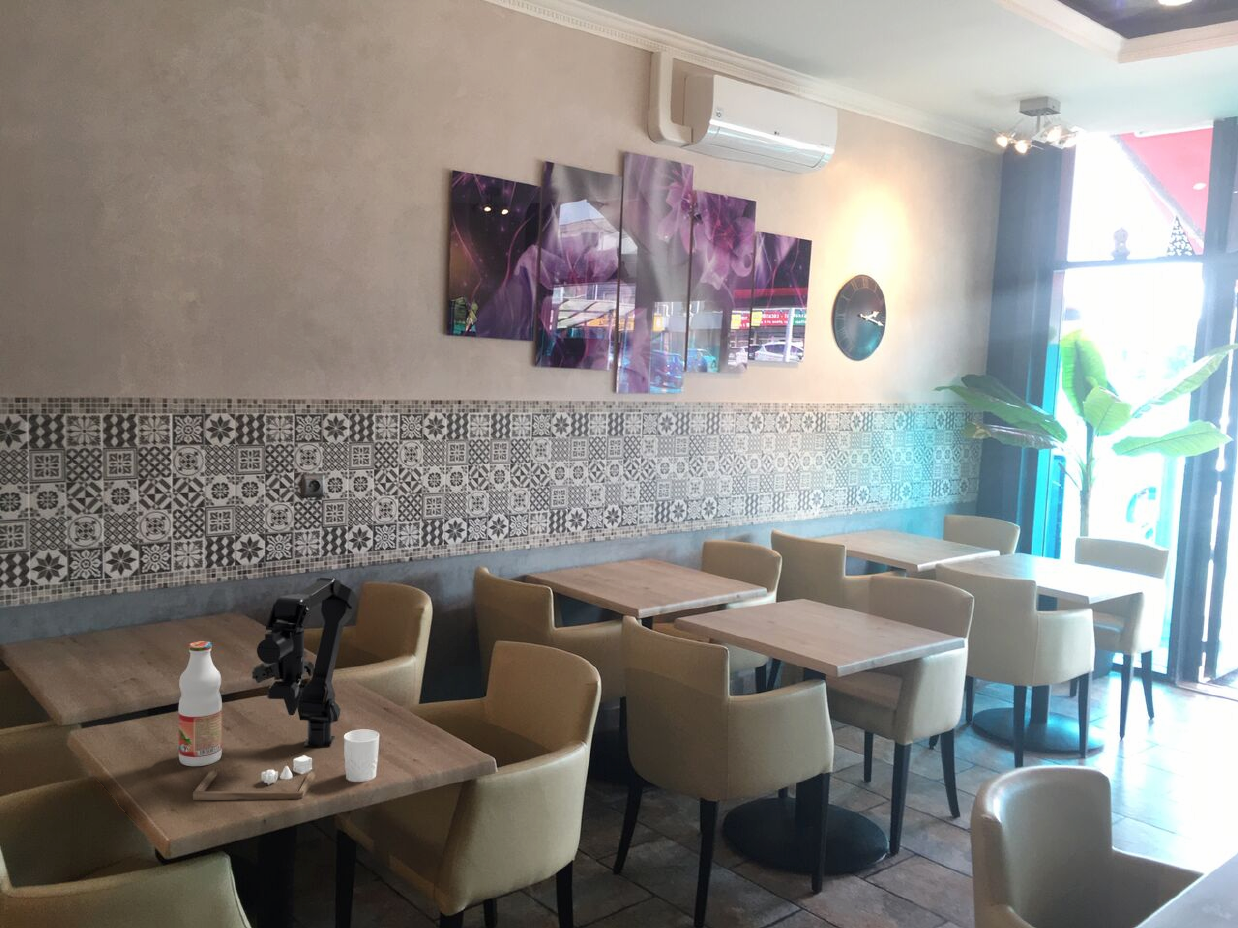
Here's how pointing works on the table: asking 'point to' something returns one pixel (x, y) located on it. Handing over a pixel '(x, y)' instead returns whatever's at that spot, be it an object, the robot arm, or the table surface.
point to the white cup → (361, 754)
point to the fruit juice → (200, 709)
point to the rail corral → (234, 795)
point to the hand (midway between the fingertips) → (291, 714)
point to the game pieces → (299, 766)
